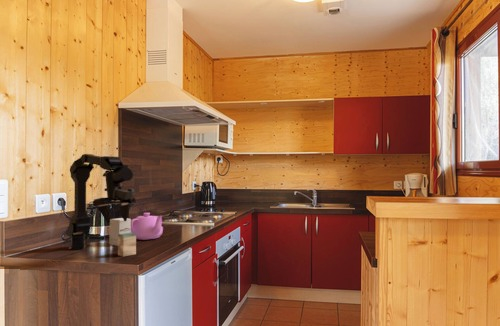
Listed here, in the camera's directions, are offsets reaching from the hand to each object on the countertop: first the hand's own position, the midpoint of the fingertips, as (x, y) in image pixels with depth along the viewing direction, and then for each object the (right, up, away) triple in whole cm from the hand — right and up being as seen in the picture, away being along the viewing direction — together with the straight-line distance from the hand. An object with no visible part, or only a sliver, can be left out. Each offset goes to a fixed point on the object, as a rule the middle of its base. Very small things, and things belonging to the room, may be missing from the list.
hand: (117, 221), depth 152 cm
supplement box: (-9, -16, +29) cm, 34 cm away
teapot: (+1, -16, +44) cm, 47 cm away
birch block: (+2, -15, +6) cm, 17 cm away
